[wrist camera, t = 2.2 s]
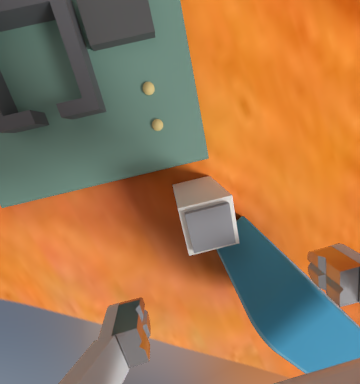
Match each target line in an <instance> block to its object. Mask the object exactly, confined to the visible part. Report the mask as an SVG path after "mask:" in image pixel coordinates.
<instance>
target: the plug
mask: <svg viewBox="0 0 360 384" xmlns="http://www.w3.org/2000/svg"><path fill="white" fill-rule="evenodd" d="M172 186H173V190H174V195H175V199H176V204H177V208H178V212H179V216H180V220H181V224H182V229H183V233H184V237H185V241H186V245H187V249H188V253H189V256H191V255H195V254H199V253H203V252H207V251H211V250H215V249H219V248H223V247H227V246H231V245H235V244H239V236H238V230H237V223H236V217H235V210H234V204H233V197H232V195H231V194H230V193H229V192H228V191H227V190H225V189H224V188H223V187H222V186H221V185H220V184H218V183H217V182H216V181H215V180H214V179H213V178H211V177H210V176H206V177H202V178H198V179H194V180H190V181H185V182H181V183H177V184H173V185H172Z"/></svg>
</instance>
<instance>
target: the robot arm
mask: <svg viewBox="0 0 360 384" xmlns="http://www.w3.org/2000/svg"><path fill="white" fill-rule="evenodd" d="M308 260H309V261H310V262H311V263H310V265H309V266H308V272H309V275H310V277H311V279H312V281H313V282H314V283H315V284H316V285H317V286H318V287H319V288H321V289H324V290H326V293H327V296H328V297H330V298H331V299H332V300H333V301H334V302H335V303H336V304H337V305H338V306H339V307H342V306H346V305H350V304H354V303H358V302H359V303H360V254H359V253H358V252H356V251H354V250H352V249H351V248H349V247H347V246H345V245H344V244H340V243H338V244H334V245H331V246H328V247H325V248H321V249H318V250H314V251H310V252H309V253H308ZM144 305H145V304H144V301H143V298H137V299H133V300H129V301H125V302H121V303H117V304H113V305H109V307H108V308H107V311H106V314H105V318H104V321H103V324H102V328H101V331H100V334H99V338H98V340H96V341H94V342H93V343H92V344H91V346H90V347H89V348H88V349H87V350H86V352H85V353H84V354H83V355H82V356H81V358H80V359H79V360H78V361H77V362H76V364H75V365H74V366H73V367H72V368H71V369H70V371H69V372H68V373H67V374H66V375H65V377H64V378H63V379H62V380H61V381H60V383H59V384H122V383H123V381H124V379H125V377H126V374H127V373H128V371H129V368H131V367H134V366H137V365H140V364H143V363H146V362H149V357H150V344H149V341H148V338H149V336H150V329H151V328H150V320H149V315H148V312H147V311H146V310H144ZM274 384H360V358H357V359H354V360H351V361H347V362H344V363H341V364H337V365H334V366H331V367H327V368H324V369H321V370H317V371H314V372H311V373H308V374H304V375H301V376H298V377H294V378H291V379H288V380H284V381H281V382H278V383H274Z"/></svg>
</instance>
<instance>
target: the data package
mask: <svg viewBox="0 0 360 384" xmlns="http://www.w3.org/2000/svg"><path fill="white" fill-rule="evenodd" d="M236 223H237V230H238V236H239V244H235V245H231V246H227V247H223V248H219V249H216V250H217V252H218V254H219V256H220V259H221V261H222V263H223V265H224V267H225V269H226V271H227V273H228V275H229V277H230V280H231V282H232V284H233V286H234V288H235V290H236V292H237V294H238V296H239V298H240V300H241V303H242V305H243V307H244V309H245V311H246V313H247V315H248V317H249V319H250V321H251V323H252V325H253V326H254V328H255V329H256V331H257V332H258V334H259V335H260V336H261V338H262V339H263V340H264V341H265V342H266V344H267V345H268V346H269V347H270V348H271V349H272V350H273V351H275V352H276V353H277V354H279V355H280V356H282V357H283V358H284V359H286V360H287V361H289V362H290V363H291V364H293V365H294V366H296V367H297V368H298V369H300V370H301V371H303V372H304V373H305V374H308V373H311V372H314V371H317V370H321V369H324V368H327V367H331V366H334V365H337V364H341V363H344V362H347V361H351V360H354V359H357V358H360V327H359V326H358V325H357V324H356V323H355V322H354V321H353V320H352V319H351V318H350V317H349V316H348V315H347V314H346V313H345V312H344V311H343V310H342V309H341V308H340V307H339V306H338V305H337V304H336V303H335V302H334V301H333V300H332V299H330V298H329V297H328V296H327V295H326V294H325V293H324V292H323V291H322V290H321V289H320V288H319V287H318V286H317V285H316V284H315V283H314V282H313V281H312V280H311V279H310V278H309V277H308V276H307V275H306V274H305V273H304V272H303V271H302V270H300V269H299V268H298V267H297V266H296V265H295V264H294V263H293V262H292V261H291V260H290V259H289V258H288V257H287V256H286V255H285V254H284V253H282V252H281V251H280V250H279V249H278V248H277V247H276V246H275V245H274V244H273V243H272V242H271V241H270V240H269V239H268V238H266V237H265V236H264V235H263V234H262V233H261V232H260V231H259V230H258V229H257V228H256V227H255V226H254V225H253V224H252V223H251V222H249V221H248V220H247V219H246V218H245V217H244V216H242V217H240V218H239V219H238V220H237V221H236Z"/></svg>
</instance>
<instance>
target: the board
mask: <svg viewBox="0 0 360 384" xmlns="http://www.w3.org/2000/svg"><path fill="white" fill-rule="evenodd" d="M208 158H209V157H208V152H207V146H206V141H205V135H204V130H203V124H202V119H201V113H200V108H199V102H198V97H197V91H196V86H195V80H194V75H193V69H192V64H191V58H190V52H189V47H188V41H187V36H186V30H185V25H184V19H183V14H182V8H181V3H180V0H0V205H1V207H2V208H4V207H8V206H12V205H17V204H21V203H25V202H29V201H33V200H37V199H42V198H46V197H50V196H54V195H58V194H62V193H67V192H71V191H75V190H79V189H83V188H87V187H92V186H96V185H100V184H104V183H108V182H112V181H117V180H121V179H125V178H129V177H133V176H137V175H142V174H146V173H150V172H154V171H158V170H162V169H167V168H171V167H175V166H179V165H183V164H187V163H192V162H196V161H200V160H204V159H208Z"/></svg>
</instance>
